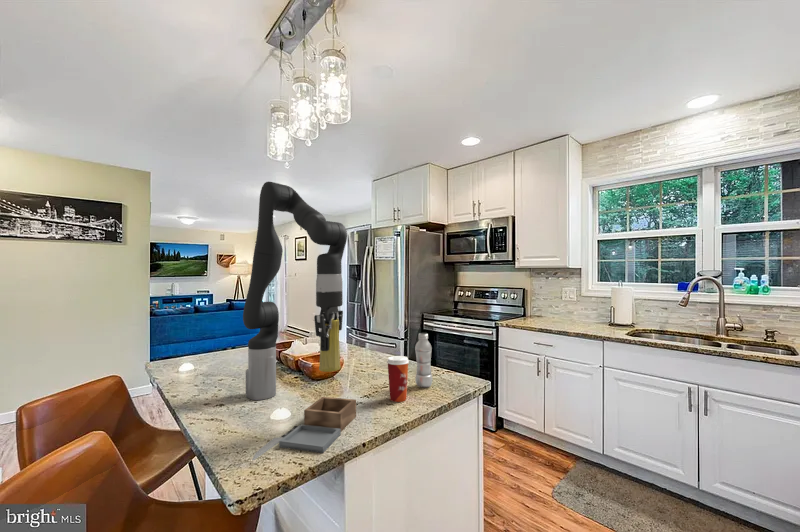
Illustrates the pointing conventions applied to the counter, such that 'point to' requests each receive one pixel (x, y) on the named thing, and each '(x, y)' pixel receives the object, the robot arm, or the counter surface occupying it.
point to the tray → (310, 438)
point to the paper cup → (398, 377)
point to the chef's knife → (270, 444)
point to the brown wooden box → (330, 412)
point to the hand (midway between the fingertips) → (329, 348)
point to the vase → (331, 350)
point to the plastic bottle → (423, 361)
